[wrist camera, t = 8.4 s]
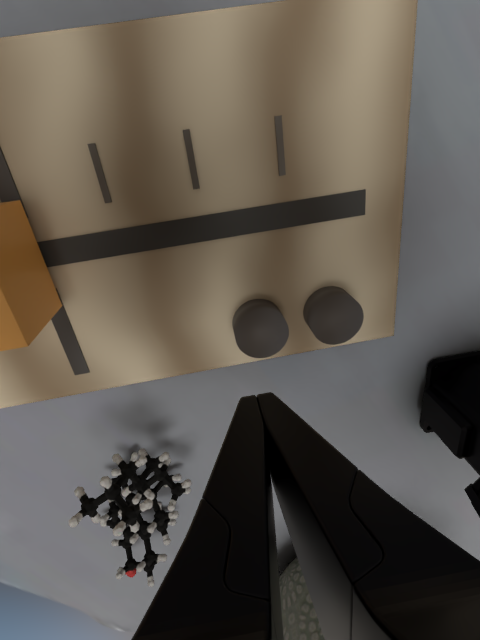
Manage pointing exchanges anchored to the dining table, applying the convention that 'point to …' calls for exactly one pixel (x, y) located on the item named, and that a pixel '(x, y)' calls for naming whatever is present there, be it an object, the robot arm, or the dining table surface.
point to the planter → (297, 606)
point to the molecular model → (135, 507)
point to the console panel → (207, 187)
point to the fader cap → (22, 281)
